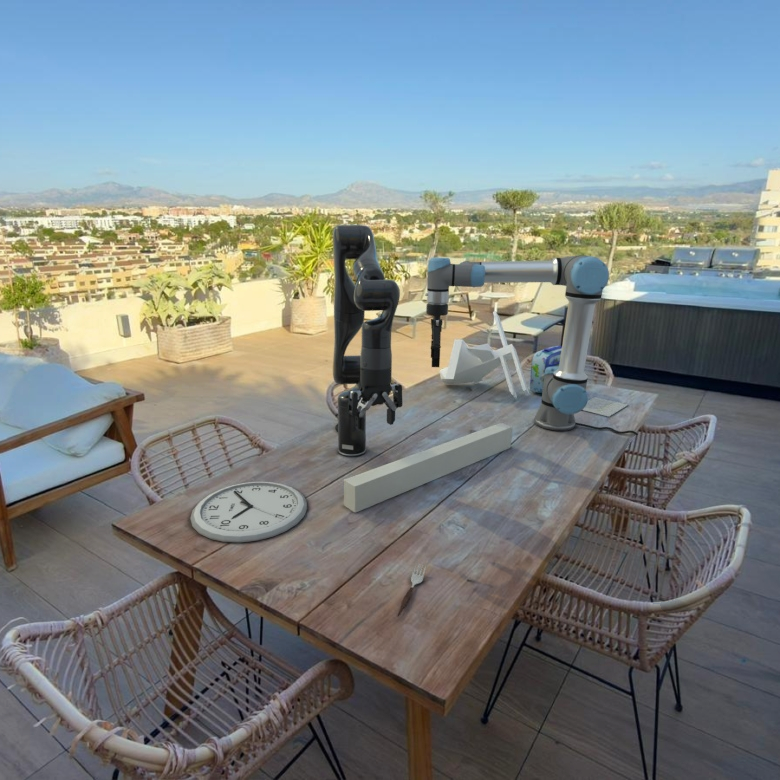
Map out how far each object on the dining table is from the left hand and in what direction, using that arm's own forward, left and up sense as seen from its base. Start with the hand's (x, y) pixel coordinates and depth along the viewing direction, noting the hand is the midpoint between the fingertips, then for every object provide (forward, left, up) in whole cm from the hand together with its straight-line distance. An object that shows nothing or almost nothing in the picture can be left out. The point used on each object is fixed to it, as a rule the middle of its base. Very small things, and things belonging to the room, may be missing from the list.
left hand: (375, 426), depth 130 cm
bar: (-22, +23, -25) cm, 41 cm away
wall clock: (-8, -32, -25) cm, 42 cm away
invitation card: (-72, +112, -25) cm, 135 cm away
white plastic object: (-99, +66, -25) cm, 122 cm away
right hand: (-56, +31, +1) cm, 65 cm away
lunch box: (-96, +101, -25) cm, 142 cm away
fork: (+31, +2, -25) cm, 40 cm away
